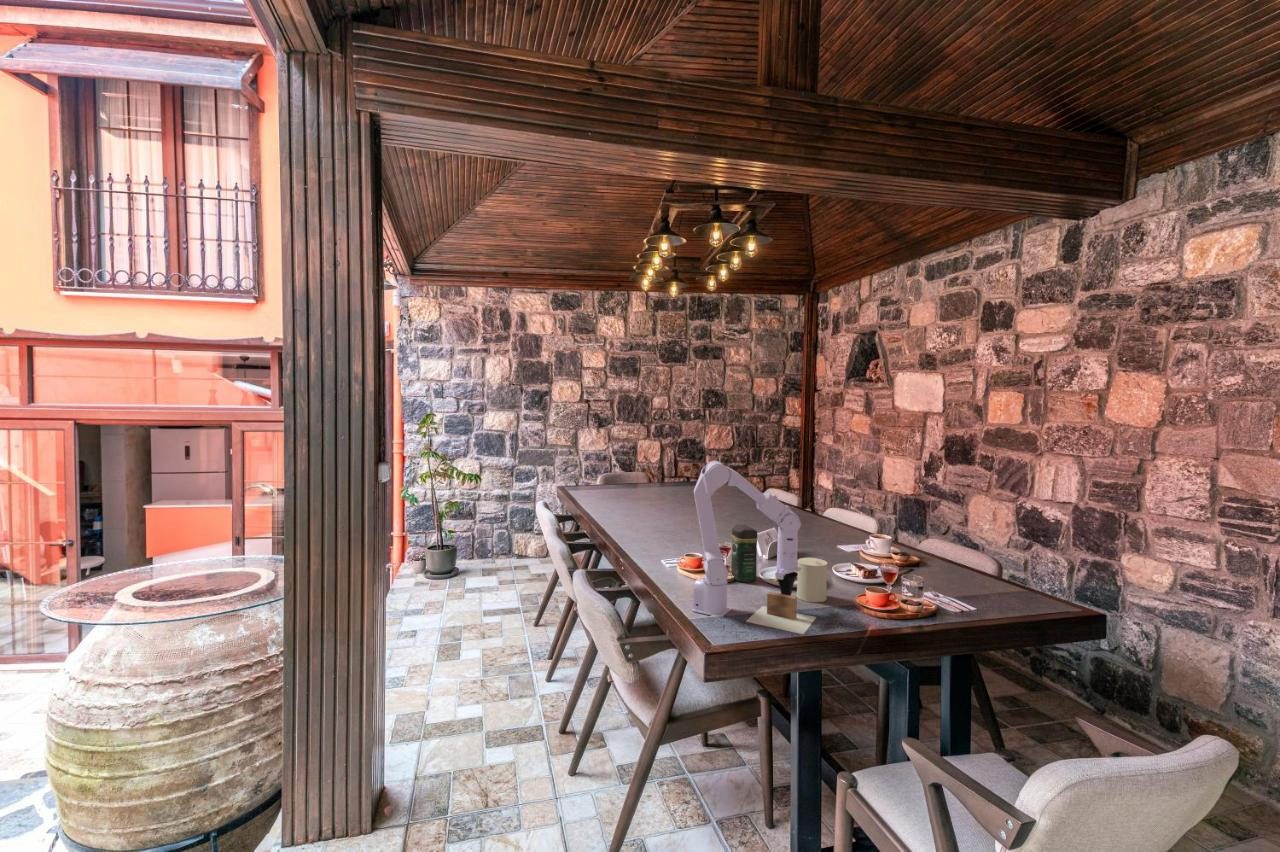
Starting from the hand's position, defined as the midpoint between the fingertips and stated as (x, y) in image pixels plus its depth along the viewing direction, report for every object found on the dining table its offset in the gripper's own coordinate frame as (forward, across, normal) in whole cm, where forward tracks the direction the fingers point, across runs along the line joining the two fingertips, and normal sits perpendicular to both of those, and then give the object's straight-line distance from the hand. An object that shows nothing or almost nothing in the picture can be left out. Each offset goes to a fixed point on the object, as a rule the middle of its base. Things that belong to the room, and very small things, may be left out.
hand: (786, 597), depth 167 cm
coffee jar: (+5, +23, +22) cm, 32 cm away
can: (+5, +17, -3) cm, 18 cm away
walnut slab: (+4, -5, 0) cm, 6 cm away
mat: (+5, -7, -1) cm, 9 cm away
